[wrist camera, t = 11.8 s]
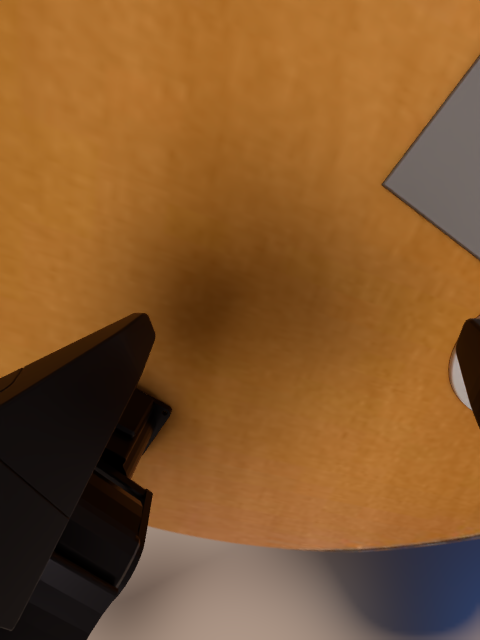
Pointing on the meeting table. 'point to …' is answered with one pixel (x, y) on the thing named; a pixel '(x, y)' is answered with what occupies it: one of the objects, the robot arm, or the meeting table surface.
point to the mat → (447, 166)
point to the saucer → (458, 378)
